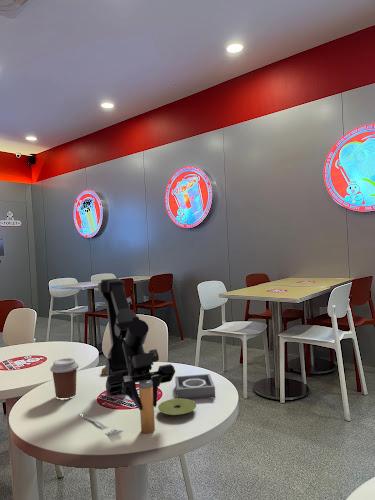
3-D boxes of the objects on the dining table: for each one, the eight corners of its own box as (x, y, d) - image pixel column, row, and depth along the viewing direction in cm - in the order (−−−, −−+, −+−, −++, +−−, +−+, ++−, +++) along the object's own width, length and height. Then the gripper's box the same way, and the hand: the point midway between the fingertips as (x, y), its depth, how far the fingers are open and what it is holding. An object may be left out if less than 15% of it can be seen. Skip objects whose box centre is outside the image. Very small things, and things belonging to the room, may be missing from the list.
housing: (177, 400, 120) (177, 389, 120) (175, 386, 132) (175, 376, 132) (215, 397, 121) (214, 386, 121) (209, 383, 133) (209, 373, 133)
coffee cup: (53, 404, 122) (51, 367, 122) (50, 394, 130) (48, 359, 130) (82, 398, 126) (80, 362, 126) (77, 389, 134) (76, 355, 134)
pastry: (106, 377, 146) (106, 367, 146) (98, 373, 151) (97, 364, 151) (127, 371, 152) (127, 361, 152) (118, 367, 157) (118, 358, 157)
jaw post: (141, 434, 100) (138, 385, 100) (141, 428, 103) (139, 380, 103) (154, 433, 100) (152, 384, 100) (154, 426, 104) (152, 379, 103)
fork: (80, 410, 117) (79, 404, 117) (125, 436, 100) (124, 430, 100) (70, 414, 115) (69, 408, 115) (114, 441, 98) (114, 434, 98)
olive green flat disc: (154, 407, 116) (154, 401, 116) (190, 401, 119) (190, 395, 119) (162, 424, 105) (162, 417, 105) (201, 417, 108) (201, 410, 108)
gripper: (105, 345, 101) (117, 401, 91) (171, 335, 109) (188, 386, 99) (101, 366, 109) (111, 421, 99) (163, 356, 116) (178, 405, 106)
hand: (148, 408), depth 100 cm, fingers closed on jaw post, 4 cm apart
